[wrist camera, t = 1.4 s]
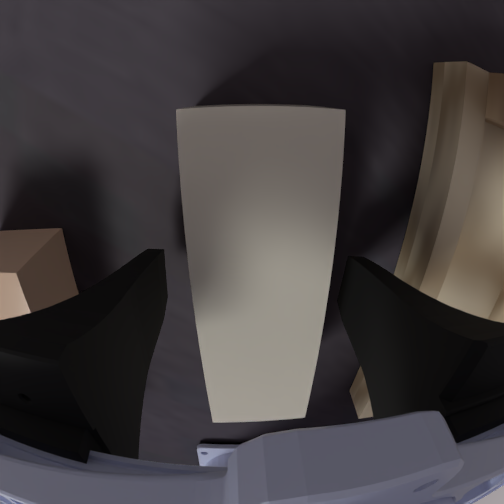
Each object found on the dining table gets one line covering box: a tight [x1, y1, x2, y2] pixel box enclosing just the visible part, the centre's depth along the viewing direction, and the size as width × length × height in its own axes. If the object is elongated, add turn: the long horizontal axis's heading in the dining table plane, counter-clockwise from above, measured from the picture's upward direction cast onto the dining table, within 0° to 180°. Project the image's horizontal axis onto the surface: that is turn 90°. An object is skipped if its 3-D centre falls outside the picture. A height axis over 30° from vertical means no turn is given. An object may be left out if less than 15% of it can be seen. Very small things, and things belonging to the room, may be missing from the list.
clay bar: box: [176, 104, 346, 422], centre depth 11 cm, size 12×4×4 cm, turn 0°
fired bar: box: [0, 228, 79, 320], centre depth 13 cm, size 12×4×4 cm, turn 179°
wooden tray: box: [349, 61, 504, 419], centre depth 12 cm, size 18×9×4 cm, turn 176°
